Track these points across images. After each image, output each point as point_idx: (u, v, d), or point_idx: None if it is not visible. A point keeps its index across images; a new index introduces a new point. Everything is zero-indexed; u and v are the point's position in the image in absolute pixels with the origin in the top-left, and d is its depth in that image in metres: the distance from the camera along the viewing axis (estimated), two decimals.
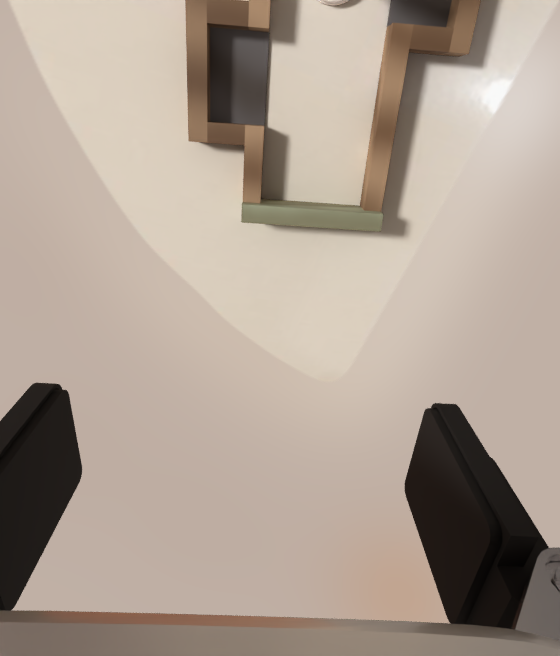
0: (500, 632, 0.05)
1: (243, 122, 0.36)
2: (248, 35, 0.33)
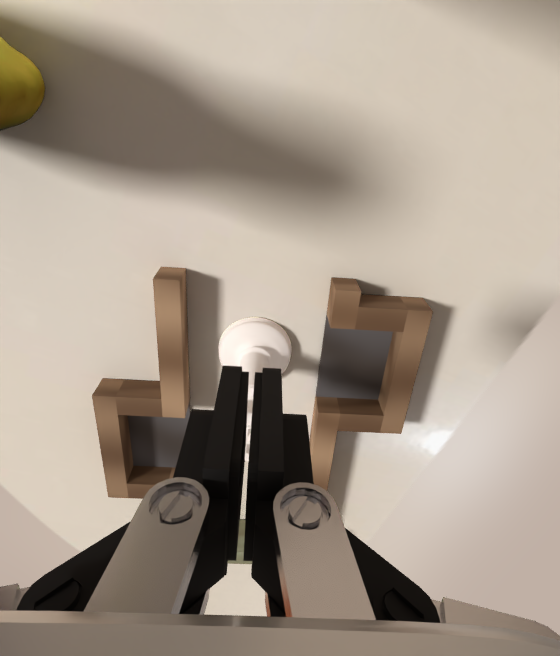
0: (500, 632, 0.05)
1: (168, 466, 0.34)
2: None
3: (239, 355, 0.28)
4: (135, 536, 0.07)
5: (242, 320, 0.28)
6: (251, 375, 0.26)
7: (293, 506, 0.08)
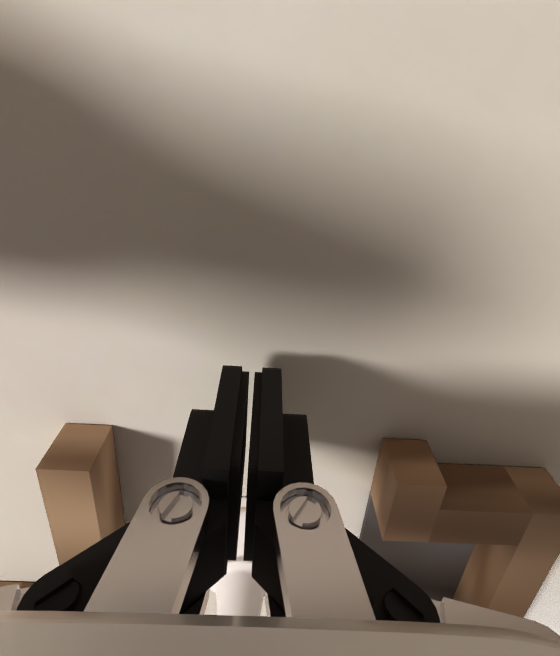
0: (500, 632, 0.05)
1: None
2: None
3: None
4: (135, 536, 0.07)
5: None
6: None
7: (293, 506, 0.08)
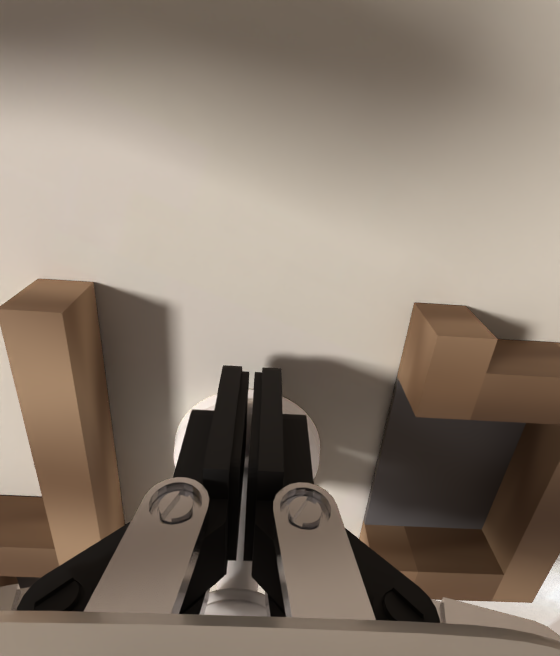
0: (500, 632, 0.05)
1: None
2: None
3: None
4: (135, 536, 0.07)
5: None
6: None
7: (293, 506, 0.08)
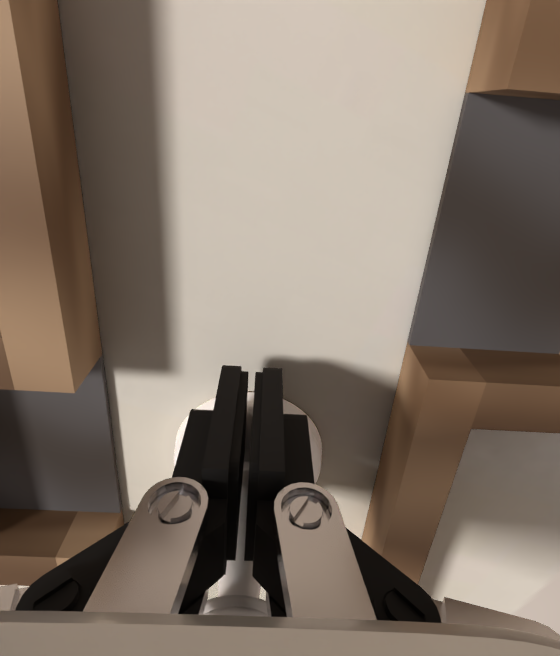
0: (500, 632, 0.05)
1: (69, 509, 0.15)
2: None
3: None
4: (134, 536, 0.07)
5: None
6: None
7: (294, 506, 0.08)
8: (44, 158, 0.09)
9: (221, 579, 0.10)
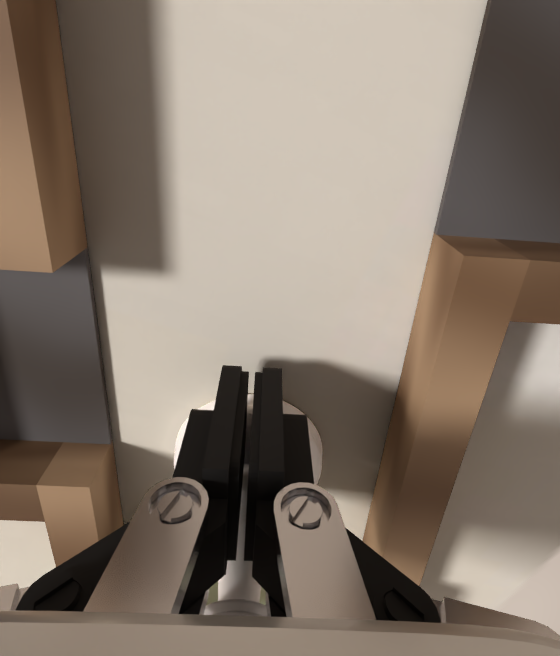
0: (500, 632, 0.05)
1: (54, 439, 0.14)
2: None
3: None
4: (135, 536, 0.07)
5: (214, 403, 0.13)
6: None
7: (294, 506, 0.08)
8: None
9: (221, 583, 0.10)
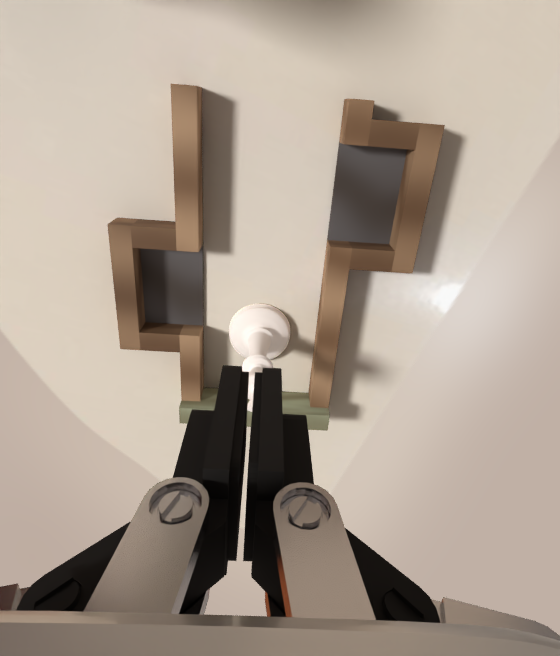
0: (500, 632, 0.05)
1: (180, 323, 0.34)
2: None
3: (245, 336, 0.33)
4: (135, 536, 0.07)
5: (246, 307, 0.34)
6: (256, 349, 0.31)
7: (293, 506, 0.08)
8: (198, 165, 0.28)
9: None
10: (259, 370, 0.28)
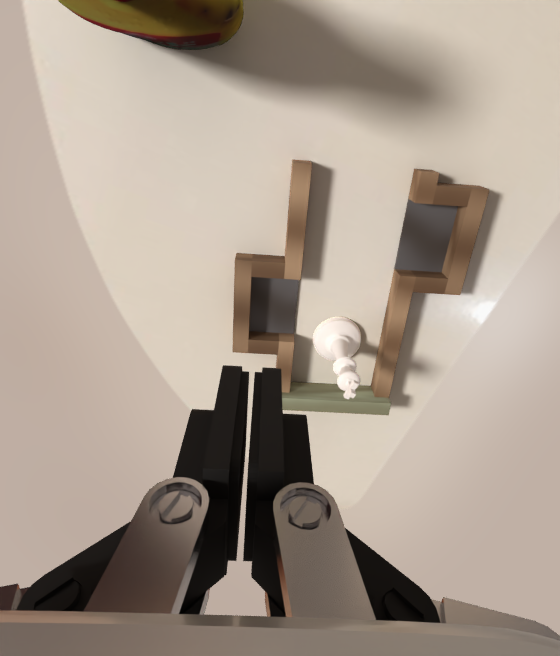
0: (500, 632, 0.05)
1: (276, 331, 0.44)
2: None
3: (329, 342, 0.43)
4: (135, 536, 0.07)
5: (328, 319, 0.44)
6: (341, 352, 0.41)
7: (293, 506, 0.08)
8: None
9: (339, 359, 0.40)
10: (349, 368, 0.38)
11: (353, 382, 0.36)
